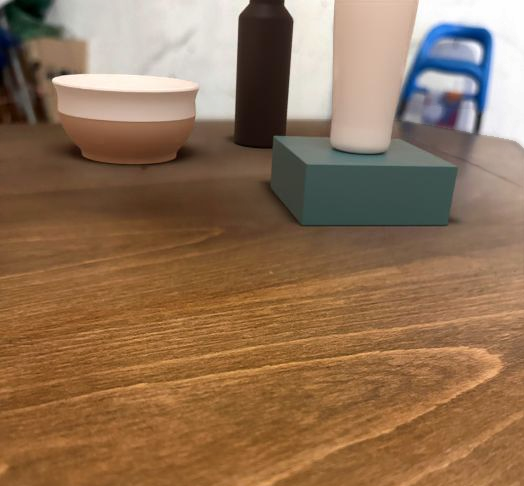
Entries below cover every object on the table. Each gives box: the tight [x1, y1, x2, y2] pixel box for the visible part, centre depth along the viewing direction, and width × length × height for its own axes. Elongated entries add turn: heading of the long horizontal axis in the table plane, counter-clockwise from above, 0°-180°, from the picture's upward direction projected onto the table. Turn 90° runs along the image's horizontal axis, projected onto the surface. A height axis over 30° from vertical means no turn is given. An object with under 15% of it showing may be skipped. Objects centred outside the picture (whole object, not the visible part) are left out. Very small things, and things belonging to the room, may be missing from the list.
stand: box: [269, 135, 459, 226], centre depth 61 cm, size 13×13×5 cm
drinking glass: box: [329, 0, 420, 154], centre depth 56 cm, size 7×7×15 cm
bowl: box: [51, 73, 201, 165], centre depth 75 cm, size 16×16×8 cm
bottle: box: [233, 0, 295, 149], centre depth 84 cm, size 7×7×20 cm
